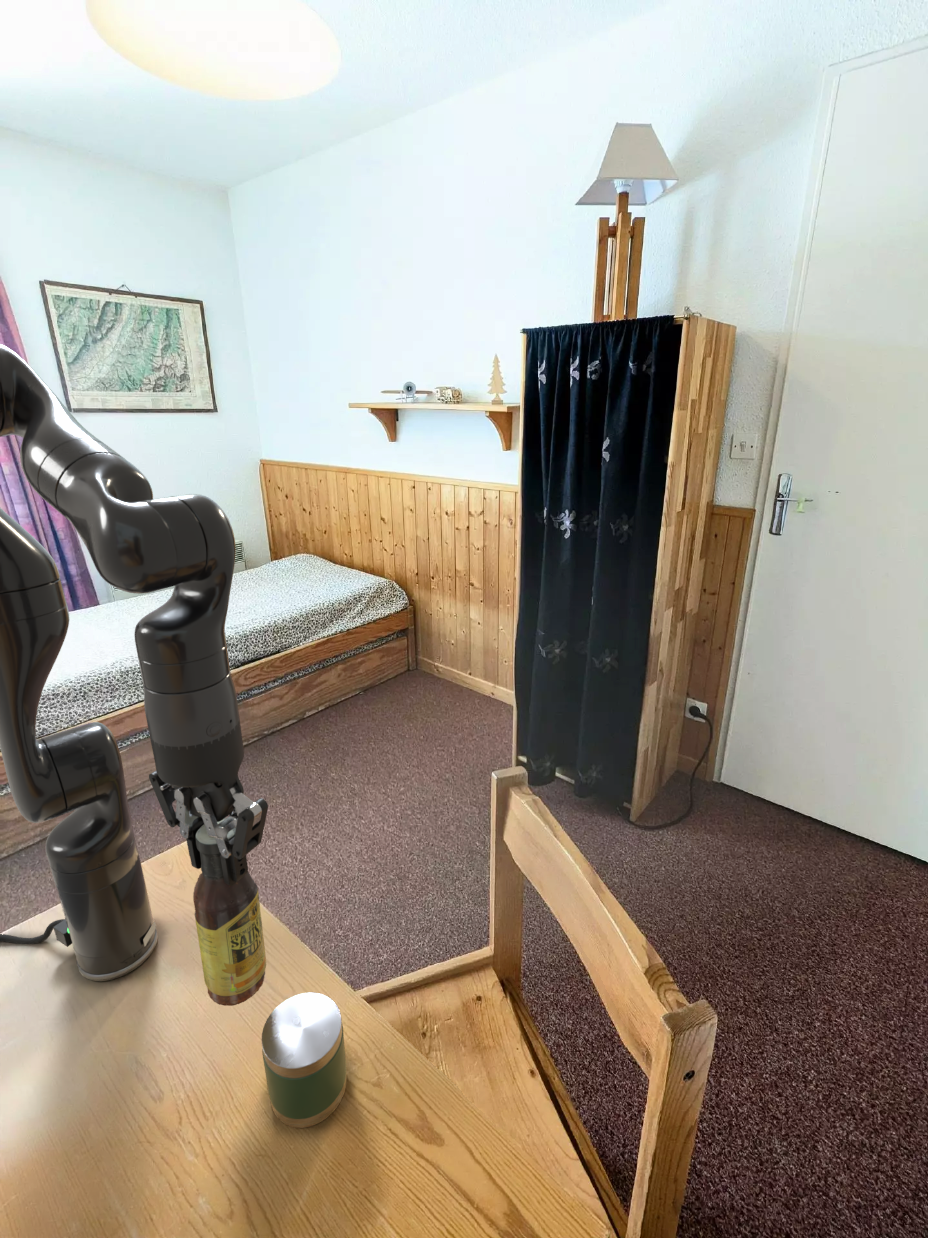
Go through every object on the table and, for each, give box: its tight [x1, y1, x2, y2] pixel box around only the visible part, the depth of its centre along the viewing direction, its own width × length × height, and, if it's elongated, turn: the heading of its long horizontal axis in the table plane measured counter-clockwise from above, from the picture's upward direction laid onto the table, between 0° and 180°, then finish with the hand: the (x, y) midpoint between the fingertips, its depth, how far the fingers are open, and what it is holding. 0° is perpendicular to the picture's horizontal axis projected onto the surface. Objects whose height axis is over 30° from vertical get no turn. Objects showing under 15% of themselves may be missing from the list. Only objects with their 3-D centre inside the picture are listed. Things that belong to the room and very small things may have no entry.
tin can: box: [261, 991, 348, 1129], centre depth 64 cm, size 8×8×9 cm
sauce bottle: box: [192, 817, 267, 1007], centre depth 62 cm, size 6×6×20 cm
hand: (219, 870), depth 61 cm, fingers closed on sauce bottle, 4 cm apart
